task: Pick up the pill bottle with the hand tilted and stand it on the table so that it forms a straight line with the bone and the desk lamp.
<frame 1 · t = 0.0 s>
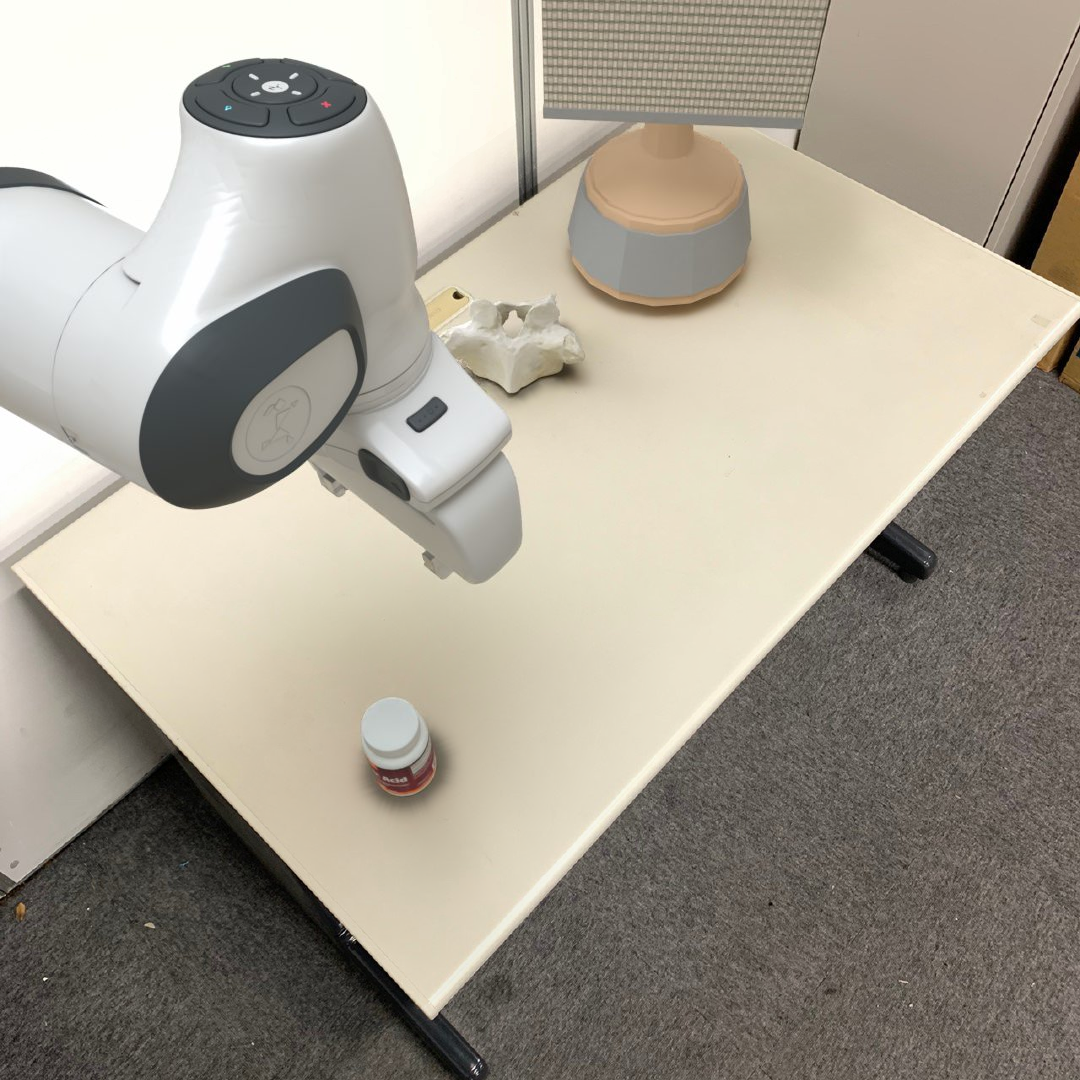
hand: (390, 525, 63), 21 cm above the table, tool pointing down, fingers open, 8 cm apart
desk lamp: (656, 259, 106), on the table
bone: (524, 370, 98), on the table
pill bottle: (406, 768, 76), on the table
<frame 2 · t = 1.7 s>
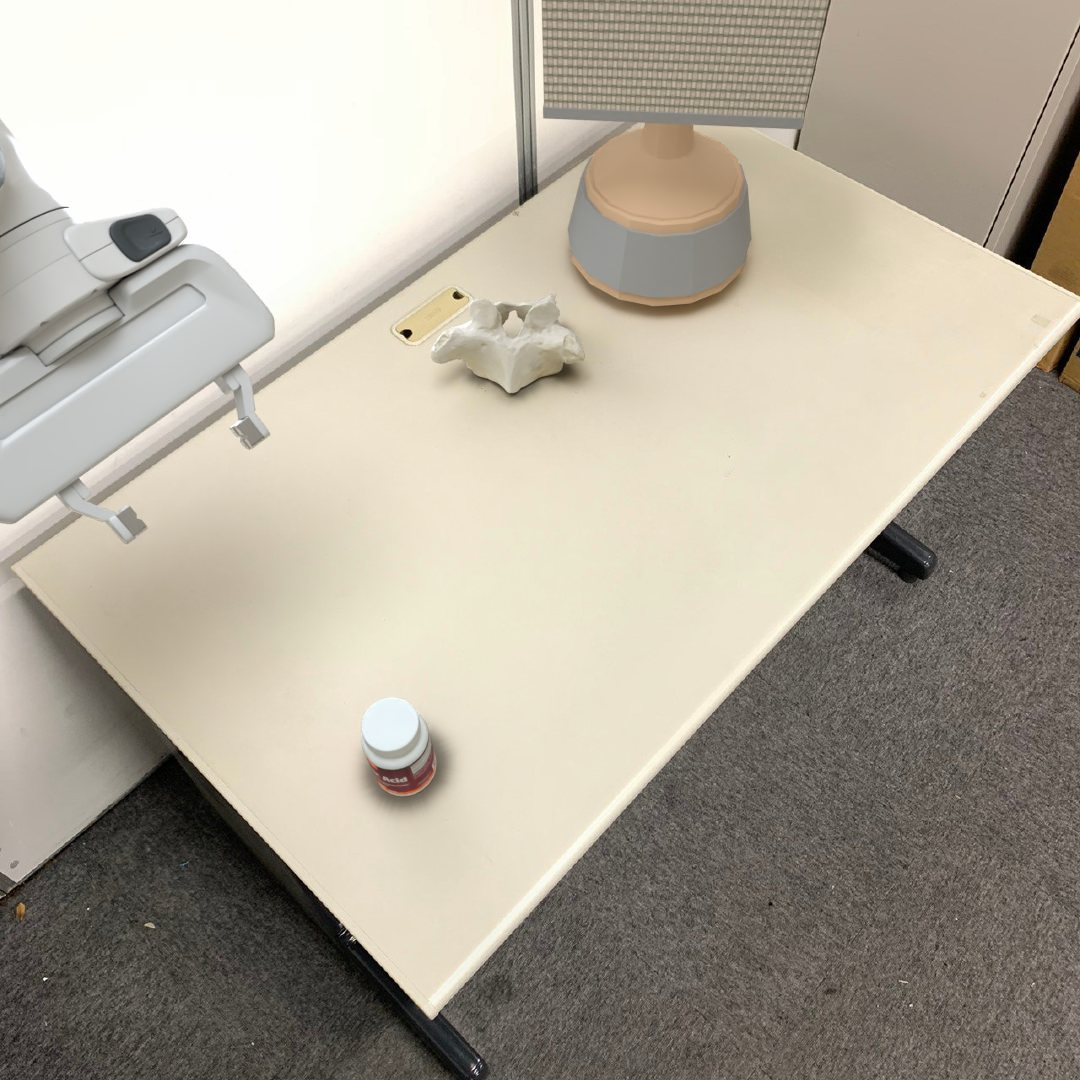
hand: (200, 488, 61), 23 cm above the table, tool tilted 45°, fingers open, 8 cm apart
nothing on the table moved.
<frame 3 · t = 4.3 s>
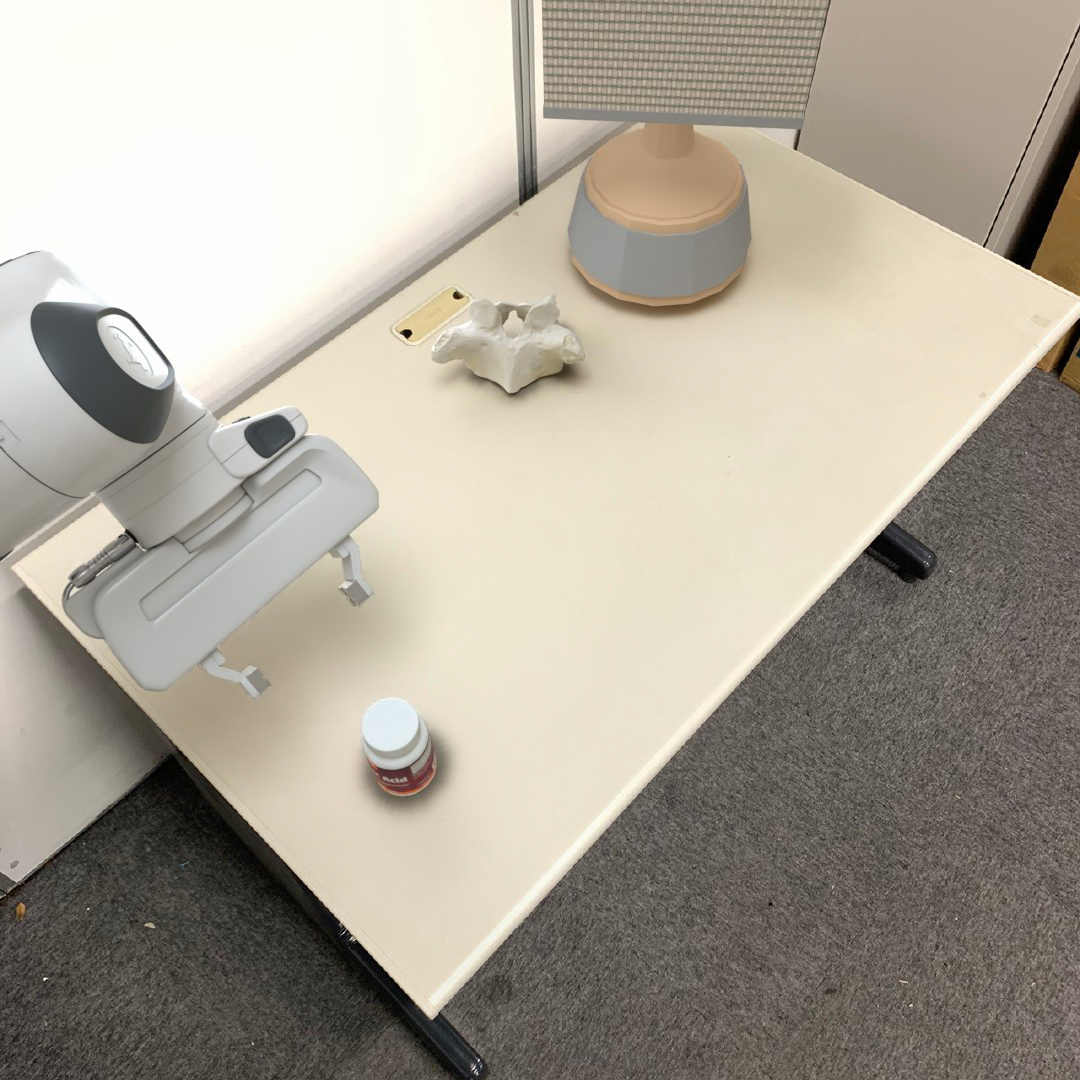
hand: (314, 645, 69), 11 cm above the table, tool tilted 45°, fingers open, 8 cm apart
nothing on the table moved.
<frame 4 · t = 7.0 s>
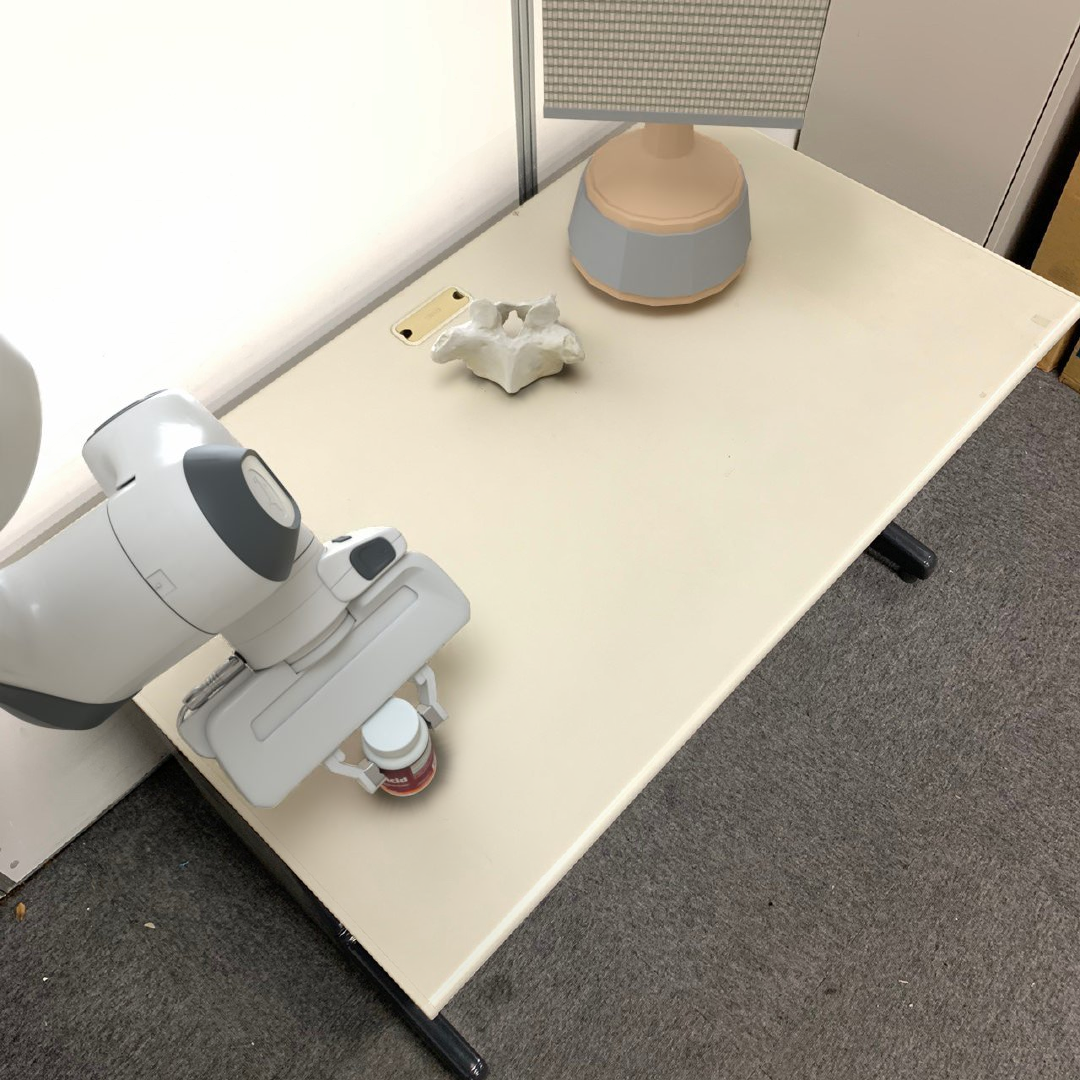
hand: (408, 753, 71), 5 cm above the table, tool tilted 45°, fingers closed on pill bottle, 5 cm apart
pill bottle: (406, 768, 76), on the table, touching gripper
everything else where it was.
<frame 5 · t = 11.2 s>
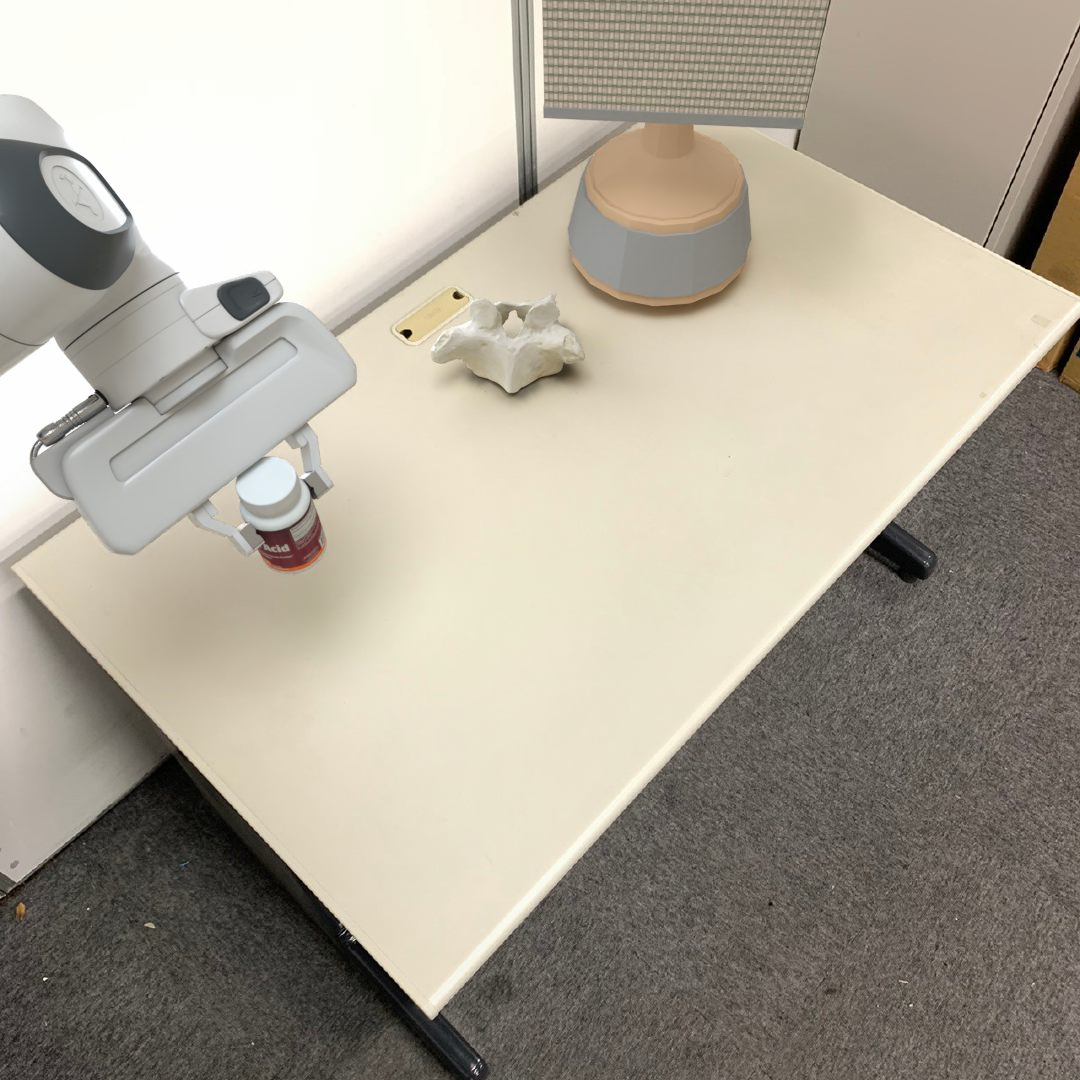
hand: (290, 520, 68), 17 cm above the table, tool tilted 45°, fingers closed on pill bottle, 5 cm apart
pill bottle: (295, 550, 72), point 12 cm above the table, touching gripper
everything else where it was.
when the fingers open (5 cm above the table, at t = 15.8 s): pill bottle stays where it is, on the table.
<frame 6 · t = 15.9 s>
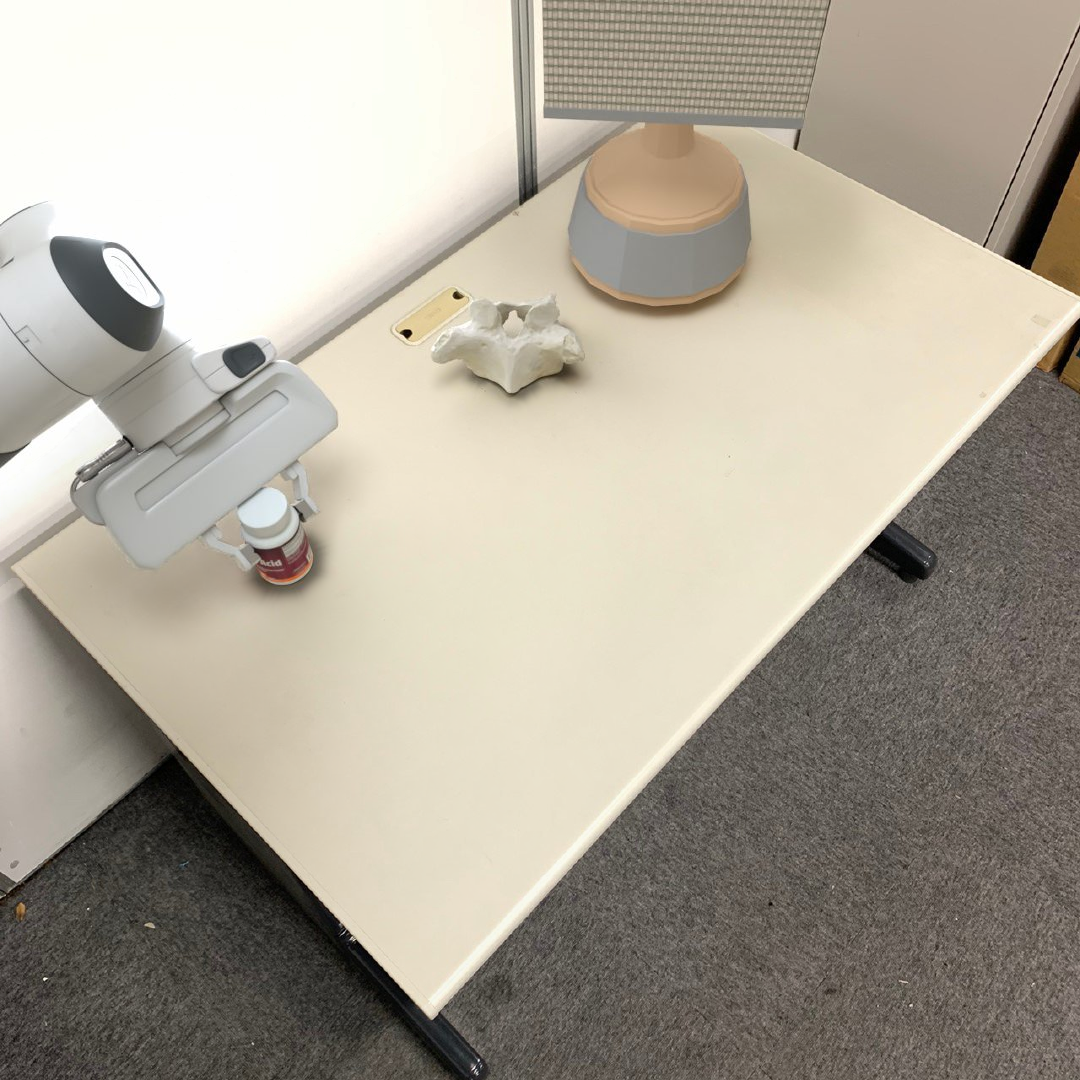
hand: (282, 541, 82), 4 cm above the table, tool tilted 45°, fingers open, 5 cm apart
pill bottle: (287, 564, 86), on the table
everything else where it was.
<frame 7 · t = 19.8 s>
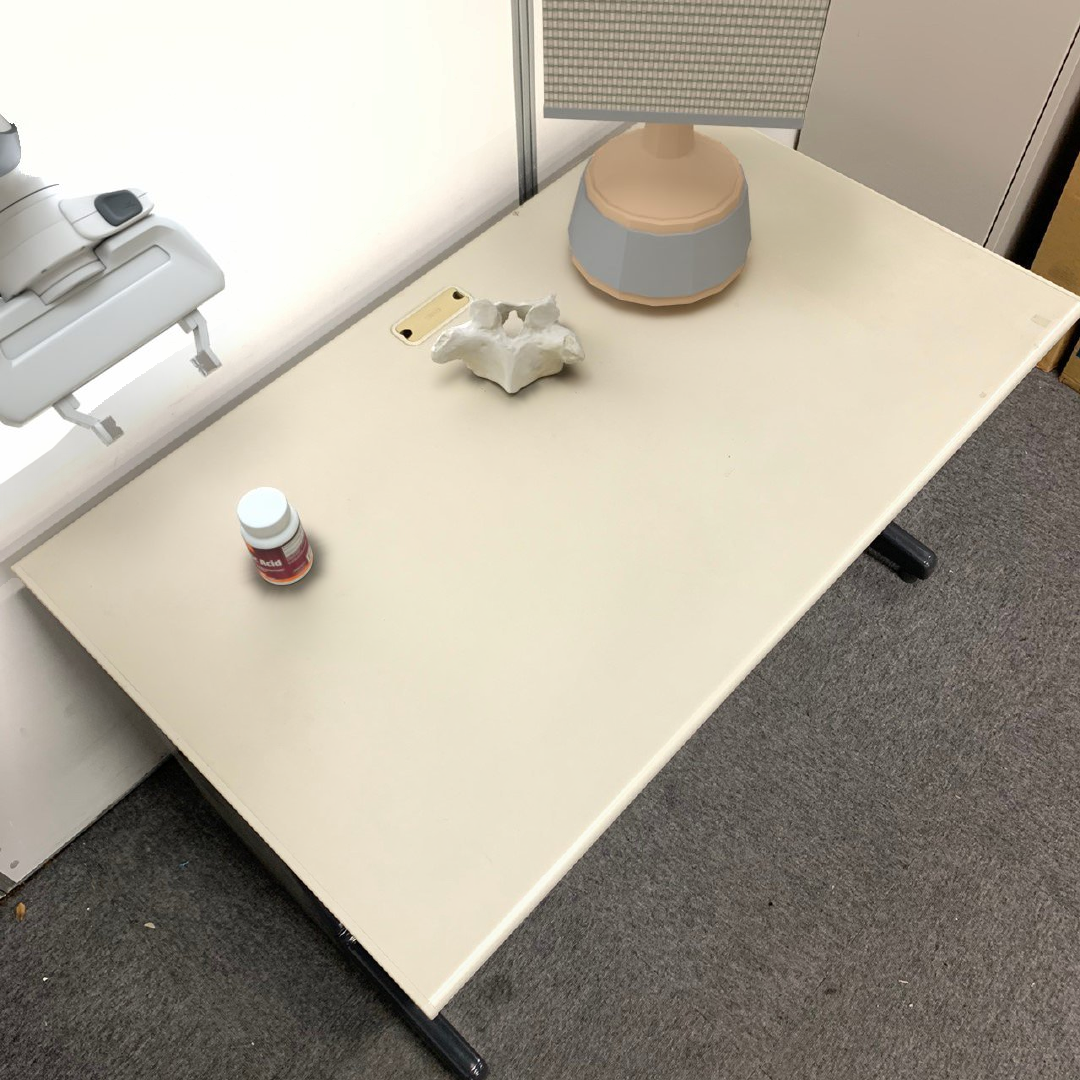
hand: (166, 405, 79), 13 cm above the table, tool tilted 45°, fingers open, 8 cm apart
nothing on the table moved.
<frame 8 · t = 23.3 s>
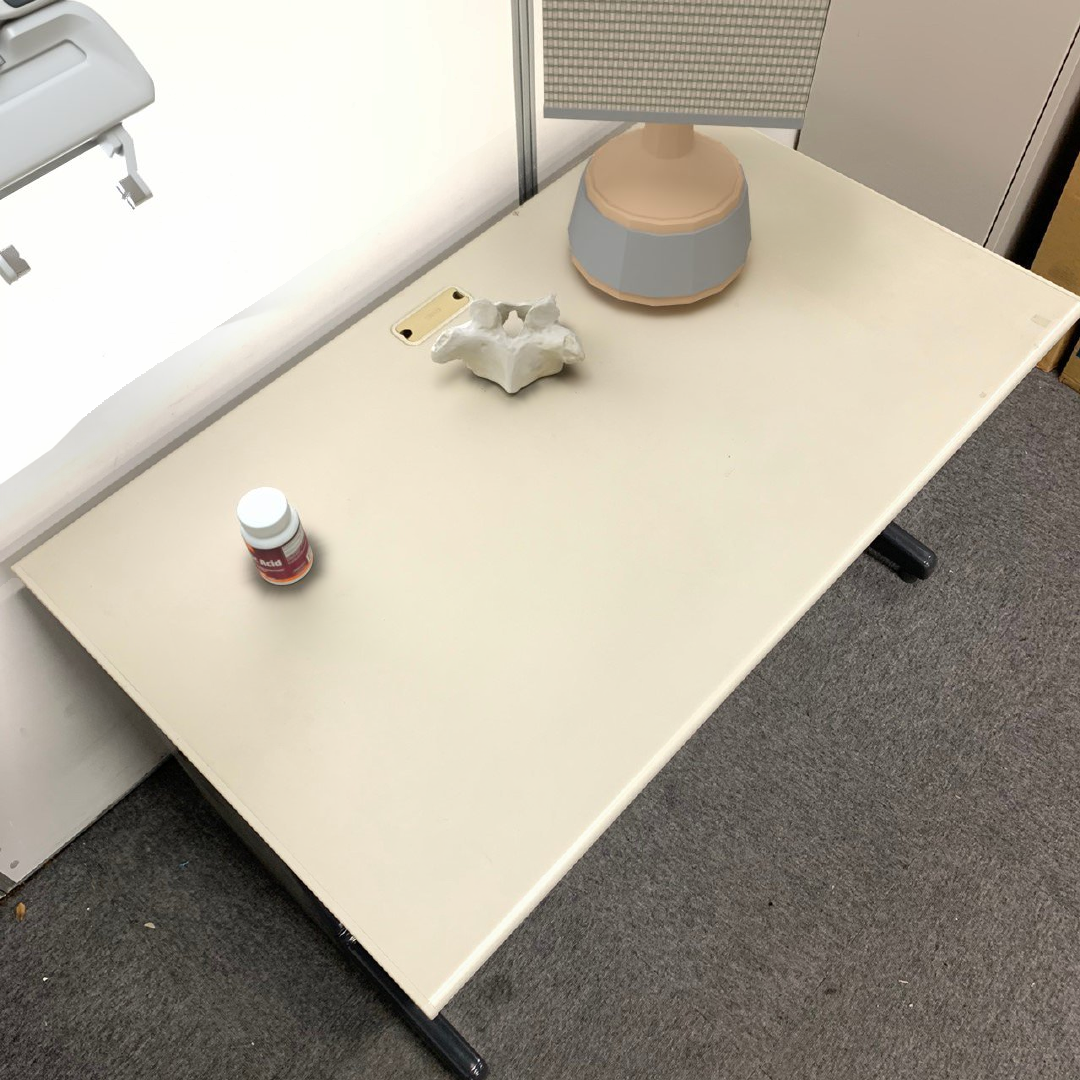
hand: (83, 239, 65), 29 cm above the table, tool tilted 45°, fingers open, 8 cm apart
nothing on the table moved.
at the end: pill bottle 0.5 cm from the target spot on the table beside the bone, on the table; pill bottle 51.1 cm from the desk lamp (horizontally); pill bottle tilted 0° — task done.
